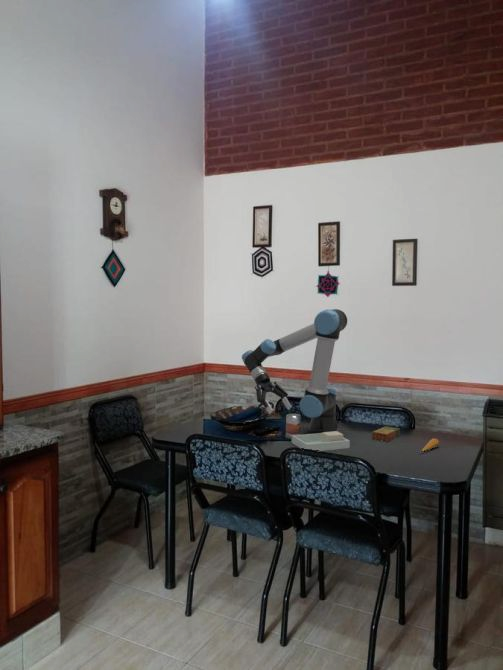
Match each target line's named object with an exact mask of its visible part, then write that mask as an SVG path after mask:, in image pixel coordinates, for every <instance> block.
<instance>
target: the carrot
mask: <svg viewBox="0 0 503 670" xmlns="http://www.w3.org/2000/svg"><path fill="white" fill-rule="evenodd" d="M437 445H439V446H440V441H439V440H438V439H437V438H432V439H430V440H429V441H428V442H427V443H426V444H425V446H423V448H422V449H421V450H422V451H424V450H427V449H430V448H432V447H435V446H437ZM437 447H438V446H437Z"/></svg>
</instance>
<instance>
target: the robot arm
mask: <svg viewBox="0 0 503 670" xmlns="http://www.w3.org/2000/svg"><path fill="white" fill-rule="evenodd" d="M347 326H348V317H347V314H346V313H345V312H344V311H342V310H341V309H336V308H334V309H333V308H332V309H324V310H322V311H320V312H318V313H317V314H316V315H315V317H314V322H313V323H312V324H310V325H307V326H305V327H302V328H301V329H298V330H296V331H294V332H291V333H289V334H287V335H285V336H283V337H280V338H278V339H276V340H274V341H273V340H271V339H270V338H266V339H265V340H263V341H261V343H260V344H259V345H258V346H257V347H256V348H255V349H254V350H253V349H251V350H250V349H249V350H247V351H246V352H244V353H243V354H242V356H241V360H242V362H243V364H244V365H245V367H246V368H247V370H248V372H249V374H250V375H251V377H252V379H253V380H254V382H255V384H256V385H255V387H254V389H255V392H256V400H257V403H259V404H261V405H263V407H264V408H265V409H266V411H267V412H268V414H272V413H273V411H274V409H273V408H272V406H271V405H270V403H269V401H268V400H267V399H266V397H267V393H271V394H272V393H273V394H274V395H275V396H277V397H279V398H280V399H281V401H282V403H283V404H284V406H285V408H286V409H287V410H288V411H289V410H291V409H292V408H293V406H292V404H291V403H290V400H289V399H288V396H289V394H288V393H287V392H286V390H285V389H283V388H282V387H281V386H280V385H278V383H277V382H276V381H274V382H271V378H270V376H269V374H268V373H267V371H266V369H265V367H264V366H263V364H262V363H263V362H264V361H265V360H266V359H267V358H270V357H274V356H279V355H282V354H283V353H285V352H288V351H290V350H291V349H294V348H296V347H298V346H301V345H305V344H306V343H308V342H310V341H313V340H315V339H317V340H316V345H315V349H314V350H315V351H314V357H313V361H312V362H313V363H312V369H311V374H310V379H309V384H308V386H306V387H305V390H304V396H302V398H301V399H300V401H299V409H300V411H301V413H302V414H303V415H304V416H306V417H307V418H310V419H311V421H310V422H309V426H308V431H309V432H310V433H311V434H316V433H322V432H333V431H338V432H339V426H338V423H337V419H336V408H337V407H336V404H337V403H336V402H337V392H336V391H337V390H336V389H335V388H332V387H327V386H328V380H329V375H330V371H331V367H332V366H331V365H332V360H333V354H334V349H335V343H336V342H337V341H338V340H339V339H340V333H341V332H342V331H343V330H344V329H346V327H347Z"/></svg>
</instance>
